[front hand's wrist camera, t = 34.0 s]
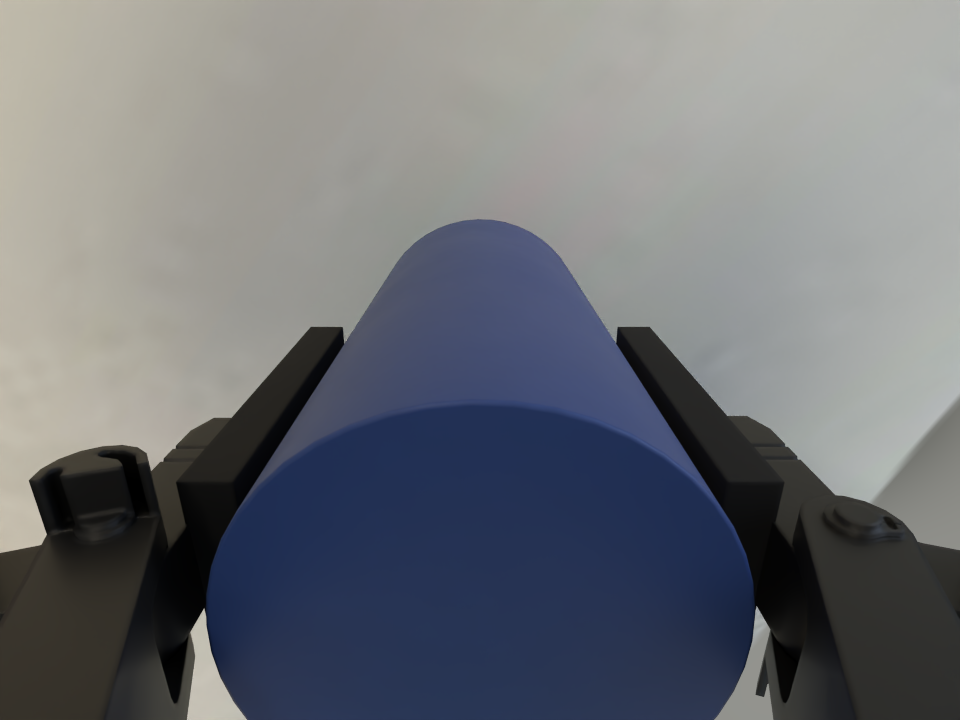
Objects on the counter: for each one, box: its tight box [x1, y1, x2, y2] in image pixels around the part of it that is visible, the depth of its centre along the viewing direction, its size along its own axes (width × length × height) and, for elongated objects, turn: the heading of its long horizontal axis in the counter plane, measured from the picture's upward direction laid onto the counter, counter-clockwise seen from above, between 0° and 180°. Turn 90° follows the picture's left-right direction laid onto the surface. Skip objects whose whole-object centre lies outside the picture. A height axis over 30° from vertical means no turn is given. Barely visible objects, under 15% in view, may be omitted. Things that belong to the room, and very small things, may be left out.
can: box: [206, 219, 755, 720], centre depth 13 cm, size 6×6×13 cm
